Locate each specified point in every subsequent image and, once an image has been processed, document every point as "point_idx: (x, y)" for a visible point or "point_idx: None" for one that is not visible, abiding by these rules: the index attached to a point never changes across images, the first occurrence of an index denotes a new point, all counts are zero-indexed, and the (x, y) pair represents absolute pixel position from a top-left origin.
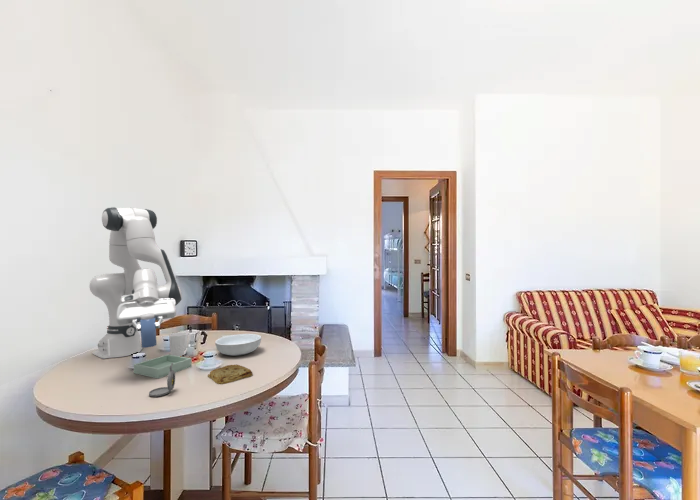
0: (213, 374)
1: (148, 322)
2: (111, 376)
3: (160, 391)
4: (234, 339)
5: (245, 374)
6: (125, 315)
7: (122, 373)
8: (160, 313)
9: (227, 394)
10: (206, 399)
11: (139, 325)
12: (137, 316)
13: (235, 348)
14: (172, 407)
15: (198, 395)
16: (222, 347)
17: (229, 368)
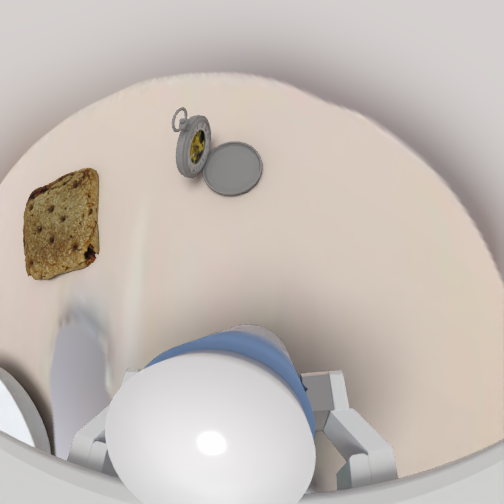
0: (86, 217)
1: (213, 338)
2: None
3: (231, 181)
4: None
5: (40, 193)
6: (480, 496)
7: None
8: (64, 473)
9: (108, 107)
10: (147, 96)
11: (314, 404)
12: (348, 501)
13: (3, 372)
14: (214, 82)
15: (153, 120)
16: (25, 408)
17: (46, 238)
